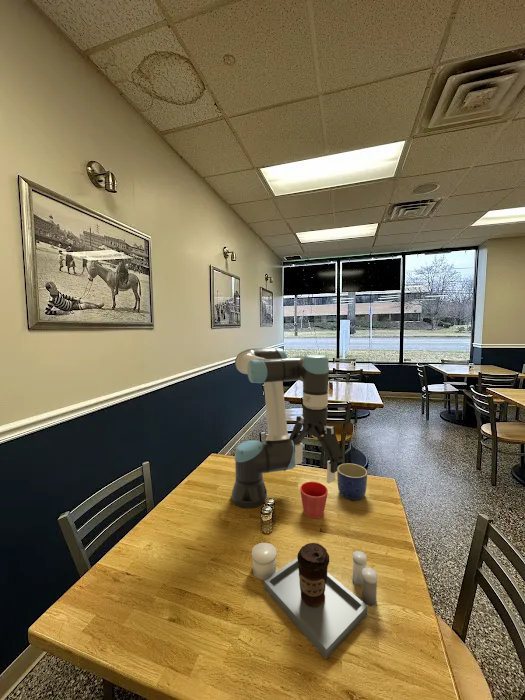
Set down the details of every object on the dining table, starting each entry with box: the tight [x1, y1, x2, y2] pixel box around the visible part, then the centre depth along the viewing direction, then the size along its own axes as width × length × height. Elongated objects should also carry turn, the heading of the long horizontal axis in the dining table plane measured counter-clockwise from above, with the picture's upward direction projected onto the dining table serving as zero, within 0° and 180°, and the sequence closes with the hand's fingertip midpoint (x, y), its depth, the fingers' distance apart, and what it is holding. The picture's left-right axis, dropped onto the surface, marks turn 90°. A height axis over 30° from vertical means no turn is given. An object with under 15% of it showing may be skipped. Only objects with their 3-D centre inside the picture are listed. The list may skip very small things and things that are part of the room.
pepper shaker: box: [361, 566, 378, 607], centre depth 77 cm, size 4×4×8 cm
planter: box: [336, 462, 368, 501], centre depth 125 cm, size 12×12×11 cm
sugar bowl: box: [251, 542, 277, 581], centre depth 87 cm, size 7×7×6 cm
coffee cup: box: [296, 542, 330, 607], centre depth 77 cm, size 9×8×13 cm
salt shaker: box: [352, 550, 368, 587], centre depth 83 cm, size 4×4×8 cm
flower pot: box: [299, 481, 329, 519], centre depth 114 cm, size 11×11×10 cm
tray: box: [263, 557, 369, 660], centre depth 77 cm, size 22×16×2 cm
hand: (313, 471), depth 91 cm, fingers open, 13 cm apart
